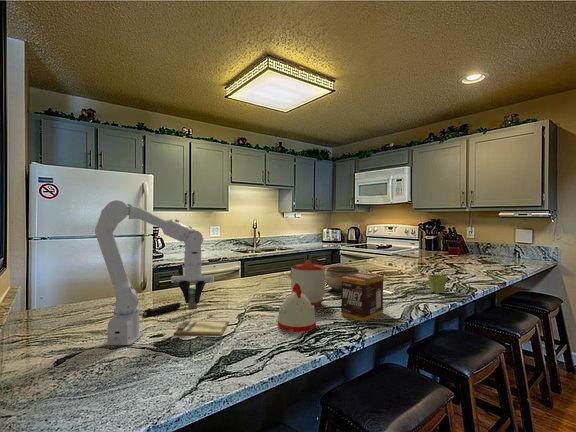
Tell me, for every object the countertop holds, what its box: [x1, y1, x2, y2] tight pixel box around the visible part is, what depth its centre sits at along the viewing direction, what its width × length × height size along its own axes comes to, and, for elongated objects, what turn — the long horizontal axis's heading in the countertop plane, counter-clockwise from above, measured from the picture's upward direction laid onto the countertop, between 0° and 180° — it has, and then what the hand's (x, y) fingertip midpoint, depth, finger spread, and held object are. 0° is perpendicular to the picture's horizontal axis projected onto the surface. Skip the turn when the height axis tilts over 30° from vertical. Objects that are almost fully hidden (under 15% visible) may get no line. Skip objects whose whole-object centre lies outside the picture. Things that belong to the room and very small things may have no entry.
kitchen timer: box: [277, 283, 317, 332], centre depth 113 cm, size 14×14×15 cm
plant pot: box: [427, 274, 448, 294], centre depth 162 cm, size 9×9×9 cm
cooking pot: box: [325, 264, 360, 293], centre depth 164 cm, size 25×19×12 cm
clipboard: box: [173, 320, 230, 337], centre depth 108 cm, size 12×16×1 cm
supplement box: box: [340, 272, 384, 322], centre depth 125 cm, size 10×15×16 cm
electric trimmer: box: [142, 302, 181, 318], centre depth 126 cm, size 4×15×3 cm, turn 139°
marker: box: [187, 286, 198, 311], centre depth 109 cm, size 3×3×7 cm
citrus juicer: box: [287, 259, 326, 308], centre depth 139 cm, size 16×17×20 cm
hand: (192, 302), depth 109 cm, fingers closed on marker, 3 cm apart
